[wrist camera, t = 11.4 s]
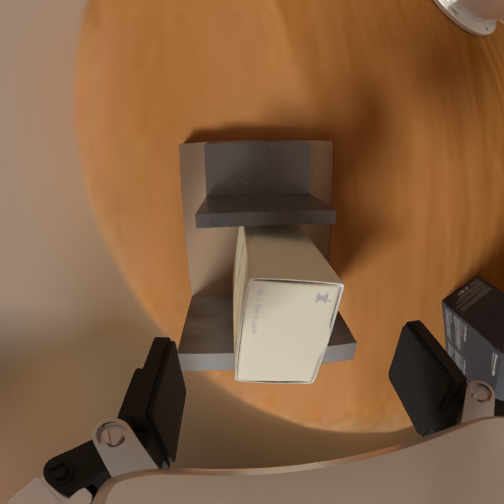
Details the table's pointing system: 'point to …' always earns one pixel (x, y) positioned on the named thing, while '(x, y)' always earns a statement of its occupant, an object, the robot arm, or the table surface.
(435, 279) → the table surface
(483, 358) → the small box
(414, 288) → the table surface
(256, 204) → the bookend
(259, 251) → the skincare box
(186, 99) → the table surface
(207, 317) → the rack
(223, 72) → the table surface
